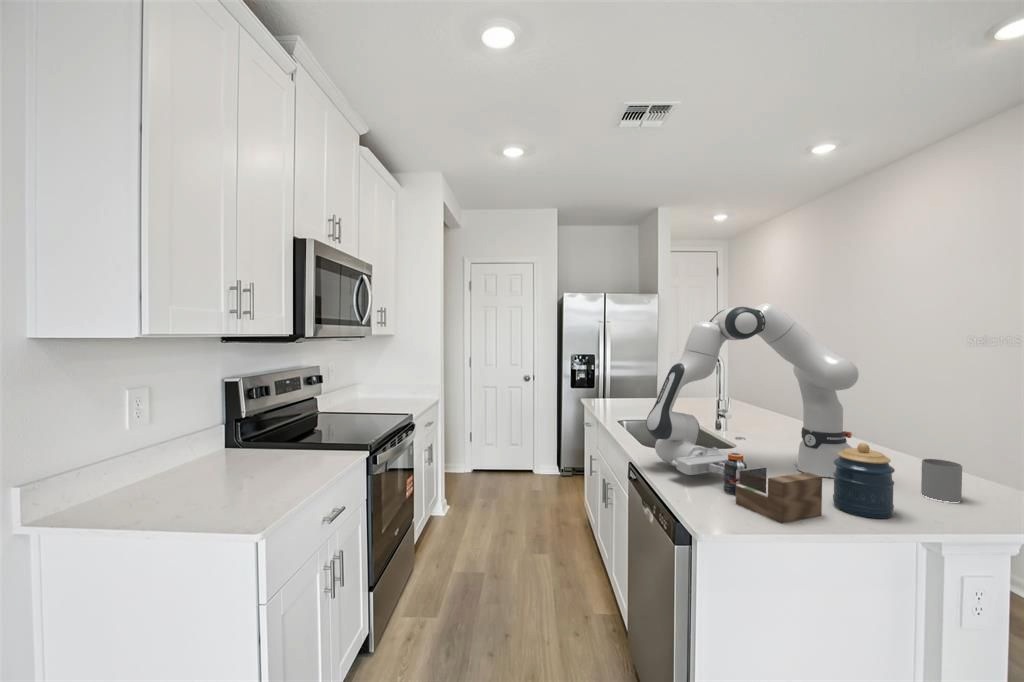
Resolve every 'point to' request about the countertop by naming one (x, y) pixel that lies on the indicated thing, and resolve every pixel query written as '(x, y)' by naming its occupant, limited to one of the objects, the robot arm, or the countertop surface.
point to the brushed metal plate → (752, 478)
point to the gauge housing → (785, 497)
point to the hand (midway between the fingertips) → (726, 470)
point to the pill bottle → (732, 471)
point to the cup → (941, 480)
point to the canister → (863, 482)
